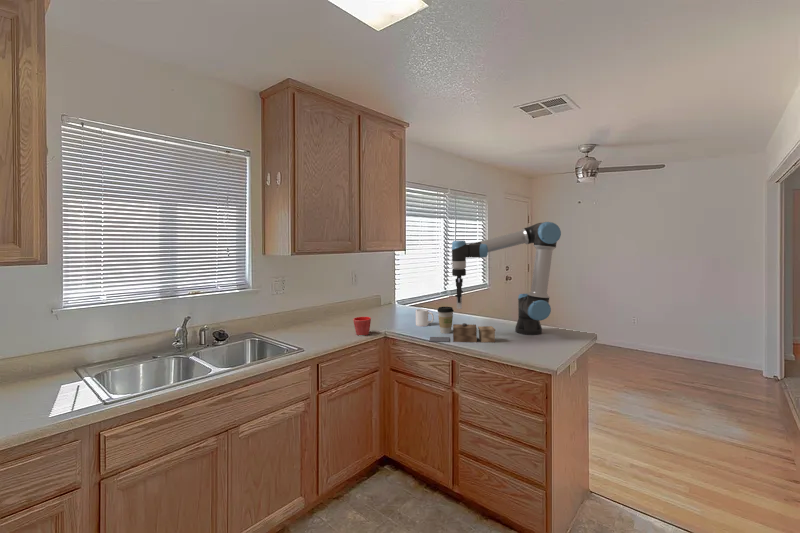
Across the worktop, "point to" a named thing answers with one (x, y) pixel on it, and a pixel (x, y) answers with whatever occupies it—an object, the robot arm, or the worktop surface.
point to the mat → (439, 339)
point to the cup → (423, 317)
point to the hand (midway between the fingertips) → (459, 306)
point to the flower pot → (362, 325)
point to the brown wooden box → (464, 333)
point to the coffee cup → (445, 319)
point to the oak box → (486, 334)
